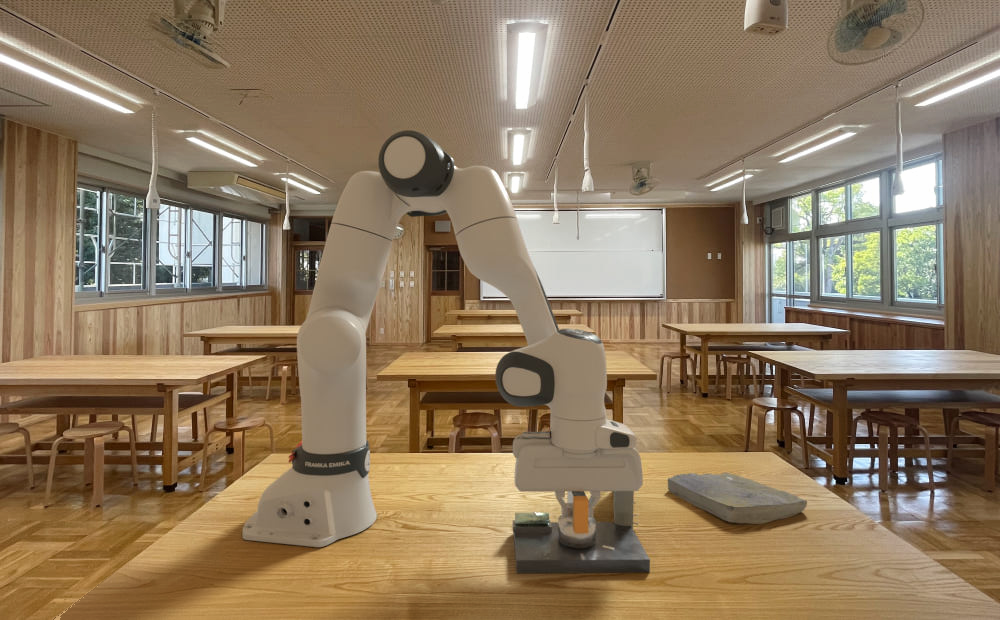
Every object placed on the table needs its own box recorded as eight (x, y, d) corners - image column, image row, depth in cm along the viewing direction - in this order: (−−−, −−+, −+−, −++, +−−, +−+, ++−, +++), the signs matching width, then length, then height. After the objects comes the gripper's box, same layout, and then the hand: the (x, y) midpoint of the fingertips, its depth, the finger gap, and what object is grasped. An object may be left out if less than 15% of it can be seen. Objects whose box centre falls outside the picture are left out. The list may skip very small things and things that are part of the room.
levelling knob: (555, 526, 87) (555, 480, 86) (590, 526, 87) (591, 479, 86) (561, 552, 79) (562, 500, 78) (600, 551, 79) (601, 500, 78)
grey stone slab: (723, 482, 115) (661, 489, 109) (725, 462, 115) (663, 468, 108) (806, 524, 97) (737, 535, 90) (809, 500, 96) (740, 510, 90)
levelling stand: (515, 573, 77) (515, 541, 77) (512, 533, 89) (512, 505, 89) (649, 572, 77) (650, 540, 77) (628, 533, 89) (629, 504, 89)
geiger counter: (641, 460, 86) (633, 421, 111) (602, 457, 88) (603, 419, 112) (639, 541, 87) (631, 484, 112) (601, 537, 89) (602, 481, 113)
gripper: (513, 437, 79) (513, 525, 79) (646, 437, 79) (645, 525, 80) (512, 425, 85) (511, 507, 86) (635, 425, 85) (633, 507, 86)
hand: (577, 516), depth 83 cm, fingers closed on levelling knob, 2 cm apart
